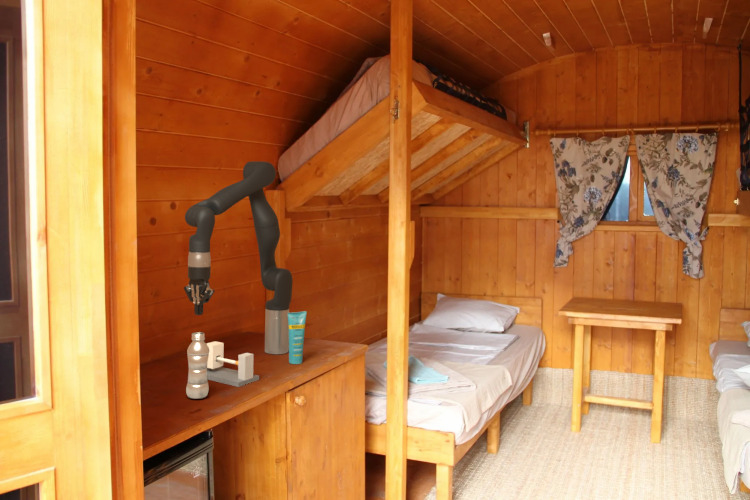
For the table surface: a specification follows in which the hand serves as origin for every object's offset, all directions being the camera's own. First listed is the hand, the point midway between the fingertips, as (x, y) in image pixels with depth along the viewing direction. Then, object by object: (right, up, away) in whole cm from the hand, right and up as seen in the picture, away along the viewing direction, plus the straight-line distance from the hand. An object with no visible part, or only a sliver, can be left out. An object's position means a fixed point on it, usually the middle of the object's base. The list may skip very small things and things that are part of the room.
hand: (198, 314), depth 230 cm
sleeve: (+6, -17, -2) cm, 19 cm away
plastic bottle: (+7, -23, -27) cm, 36 cm away
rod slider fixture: (+10, -21, -5) cm, 24 cm away
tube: (+32, -20, +17) cm, 41 cm away
